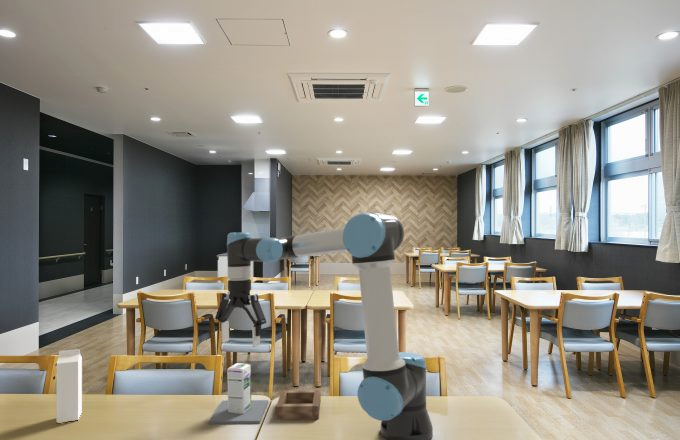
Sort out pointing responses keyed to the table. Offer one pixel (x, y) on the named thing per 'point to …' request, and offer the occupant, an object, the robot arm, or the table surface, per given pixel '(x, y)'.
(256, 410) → the charcoal mat
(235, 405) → the syrup box
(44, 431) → the table surface
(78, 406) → the milk
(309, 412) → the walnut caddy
